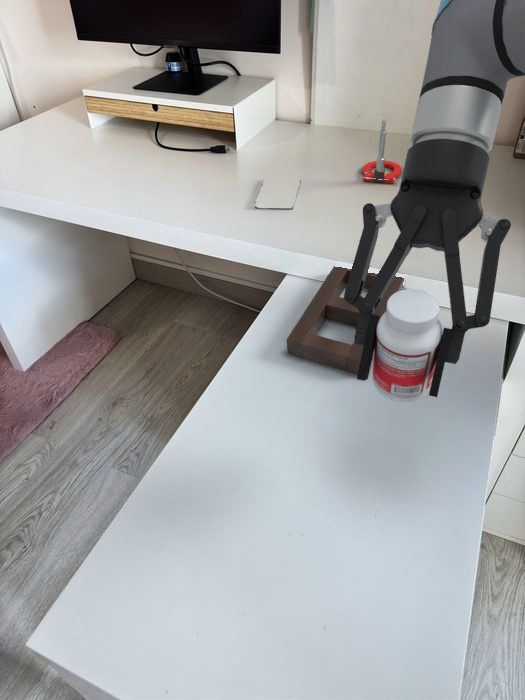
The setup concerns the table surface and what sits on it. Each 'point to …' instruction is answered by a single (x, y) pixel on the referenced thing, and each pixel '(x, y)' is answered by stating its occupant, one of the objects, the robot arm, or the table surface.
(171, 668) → the table surface
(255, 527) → the table surface
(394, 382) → the pill bottle
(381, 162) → the tow hook
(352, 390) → the table surface
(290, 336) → the rack
